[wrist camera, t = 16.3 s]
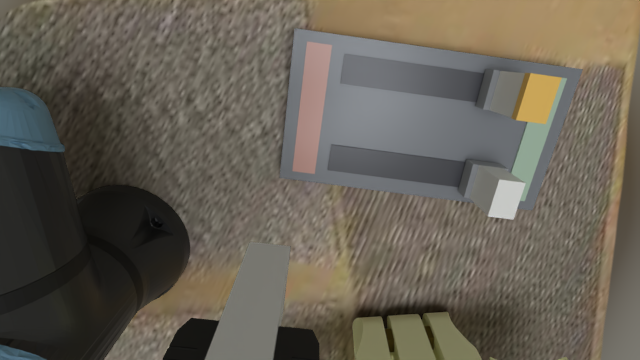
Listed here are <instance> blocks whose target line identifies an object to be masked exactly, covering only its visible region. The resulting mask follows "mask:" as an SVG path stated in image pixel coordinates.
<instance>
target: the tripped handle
mask: <svg viewBox="0 0 640 360" xmlns="http://www.w3.org/2000/svg"><path fill="white" fill-rule="evenodd" d="M561 79H562V77H554V76H547V75H540V74H533V73H517V72H507V71H498V70H490V69H486V70H485V74H484V78H483V81H482V85H481V89H480V92H479V96H478V100H477V103H476V107H478V108H481V109H485V110H490V111H493V112H496V113H499V114H502V115H505V116H508V117H511V119H514V120H519V121H526V122H533V123H540V124H546V122H547V120H548V117H549V114H550V111H551V108H552V105H553V102H554V99H555V96H556V93H557V90H558V87H559V84H560V81H561Z"/></svg>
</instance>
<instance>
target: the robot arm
mask: <svg viewBox="0 0 640 360" xmlns="http://www.w3.org/2000/svg"><path fill="white" fill-rule="evenodd" d="M64 151H65V147H64V145H63V144H61V143H60V141H59V138H58V135H57V132H56V129H55V127H54V124H53V121H52V118H51V115H50V113H49V110H48V108H47V106H46V104H45V103H44V102H43V101H42V100H41V99H40V98H39V97H38V96H37V95H35V94H33V93H32V92H29V91H27V90H24V89H20V88H13V87H0V360H104V358H105V357H106V355H107V354H108V352H109V351H110V350H111V348H112V347H113V345H114V344H115V342H116V341H117V340H118V338H119V337H120V335H121V334H122V332H123V331H124V330H125V328H126V327H127V325H128V324H129V322H130V321H131V319H132V318H133V317H134V315H135V314H136V313H137V311H139V310H140V309H141V308H143V307H144V306H145V305H147V304H148V303H150V302H151V301H153V300H155V299H157V298H159V297H160V296H162V295H164V294H165V293H166V292H168V291H169V290H170V289H171V288H172V287H173V286H174V285H175V283H176V282H177V281H178V279H179V277H180V276H181V274H182V273H183V271H184V270H185V268H186V265H187V263H188V259H189V253H190V245H189V239H188V235H187V232H186V229H185V227H184V225H183V223H182V221H181V220H180V218H179V217H178V215H177V214H176V213H175V212H174V211H173V209H172V208H171V207H170V206H168V205H167V204H166V203H165V202H164V201H162V200H161V199H159V198H158V197H156V196H155V195H153V194H151V193H149V192H147V191H144V190H141V189H138V188H135V187H130V186H122V185H112V186H105V187H101V188H97V189H95V190H92V191H90V192H89V193H87V194H85V195H83V196H82V197H80V198H78V199H77V200H76V197H75V193H74V190H73V186H72V183H71V179H70V176H69V172H68V169H67V165H66V162H65V158H64V154H63V152H64ZM290 248H291V246H283V245H275V244H266V243H257V242H250V243H249V245H248V248H247V251H246V253H245V256H244V259H243V261H242V264H241V266H240V269H239V272H238V274H237V277H236V279H235V282H234V285H233V287H232V290H231V293H230V295H229V298H228V300H227V303H226V306H225V308H224V311H223V313H222V316H221V319H220V321H215V320H206V319H196V318H191V319H190V320H189V321H187V322H186V323H185V324H184V325H183V326H182V327H181V328H179V329H178V330H177V332H176V334H175V336H174V338H173V340H172V342H171V344H170V347H169V348H168V349H167V351H166V353H165V355H164V357H163V360H319V342H318V340H317V338H316V336H315V334H314V332H313V330H309V329H300V328H291V327H281V321H282V315H283V308H284V300H285V291H286V282H287V274H288V265H289V257H290Z"/></svg>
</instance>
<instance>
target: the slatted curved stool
mask: <svg viewBox="0 0 640 360" xmlns="http://www.w3.org/2000/svg"><path fill="white" fill-rule="evenodd" d="M352 329H353V342H354V355H355V360H482V359H481V357H480V355H479V353H478V351H477V349H476V348H475V347H474V346H473V345H472V344H471V343H470V342H469V341H468V340H467V339H466V338H465V337H464V336H463V335H462V334H461V333H460V332H459V330H458V329H457V328H456V327H455V326H454V324H453V323H452V321H451V319H450V316H449V313H448V312H437V313H424V314H423V316H422V320H421V318H420V316H419V315H418V314H407V315H392V316H387V329H384V324H383V320H382V317H381V316H378V317H363V318H356V319H355V320H354V321H353V325H352ZM490 360H496V359H494V358H491V357H490ZM558 360H568V359H567V358H566V357H564V358H561V359H558Z"/></svg>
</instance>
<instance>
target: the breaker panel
mask: <svg viewBox="0 0 640 360" xmlns="http://www.w3.org/2000/svg"><path fill="white" fill-rule="evenodd" d="M486 69H490V70H498V71H507V72H517V73H533V74H540V75H547V76H554V77H562V79H561V81H560V84H559V87H558V90H557V93H556V96H555V99H554V102H553V105H552V108H551V111H550V114H549V117H548V120H547V122H546V124H540V123H533V122H526V121H519V120H514V119H511V117H508V116H505V115H502V114H499V113H496V112H493V111H490V110H485V109H481V108H478V107H476V103H477V100H478V96H479V92H480V89H481V85H482V81H483V78H484V74H485V70H486ZM582 70H583V69H576V68H569V67H562V66H555V65H548V64H541V63H534V62H527V61H520V60H513V59H506V58H499V57H492V56H485V55H478V54H471V53H464V52H457V51H450V50H443V49H436V48H429V47H422V46H415V45H408V44H401V43H394V42H387V41H380V40H373V39H366V38H359V37H352V36H345V35H338V34H331V33H324V32H317V31H310V30H303V29H296V28H295V30H294V40H293V50H292V60H291V70H290V79H289V89H288V99H287V109H286V119H285V128H284V138H283V148H282V158H281V168H280V178H285V179H293V180H301V181H309V182H316V183H324V184H332V185H340V186H347V187H355V188H363V189H370V190H378V191H386V192H394V193H401V194H409V195H417V196H425V197H432V198H440V199H448V200H456V201H463V202H471V203H475V204H476V205H477V206H478V207H479V208H480V209H481V210H482V211H483V212H484V213H485V214H486V215H487V216H489V217H497V218H505V219H514V216H515V213H516V210H517V208H518V209H525V210H533V207H534V204H535V201H536V198H537V196H538V193H539V190H540V187H541V184H542V182H543V179H544V176H545V173H546V170H547V168H548V165H549V162H550V159H551V156H552V154H553V151H554V148H555V145H556V142H557V140H558V137H559V134H560V131H561V128H562V126H563V123H564V120H565V117H566V115H567V112H568V109H569V106H570V103H571V101H572V98H573V95H574V92H575V89H576V87H577V84H578V81H579V78H580V75H581V73H582Z"/></svg>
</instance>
